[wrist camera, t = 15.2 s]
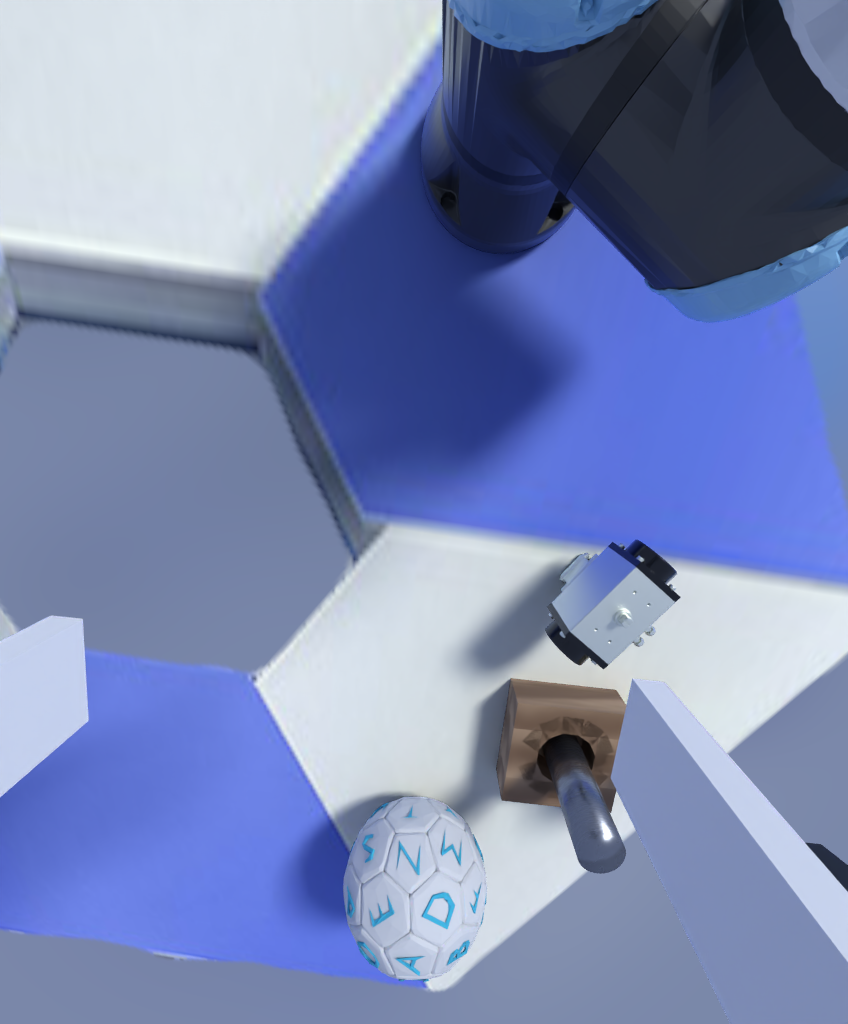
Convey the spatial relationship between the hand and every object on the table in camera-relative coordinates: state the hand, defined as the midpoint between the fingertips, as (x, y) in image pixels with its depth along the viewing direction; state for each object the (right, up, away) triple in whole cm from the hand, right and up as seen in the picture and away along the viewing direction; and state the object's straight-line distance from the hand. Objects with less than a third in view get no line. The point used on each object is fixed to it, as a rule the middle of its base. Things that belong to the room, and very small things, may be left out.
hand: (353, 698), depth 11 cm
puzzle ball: (+1, -33, +44) cm, 56 cm away
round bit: (+17, -21, +40) cm, 49 cm away
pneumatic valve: (+19, -2, +38) cm, 42 cm away
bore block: (+17, -21, +41) cm, 49 cm away
